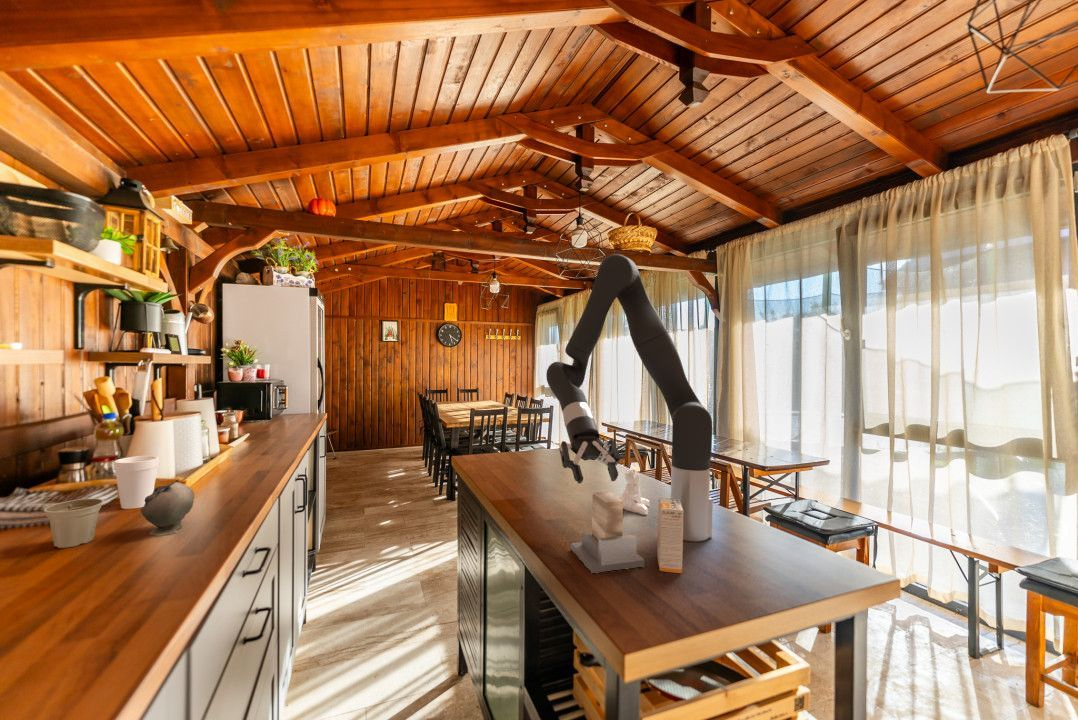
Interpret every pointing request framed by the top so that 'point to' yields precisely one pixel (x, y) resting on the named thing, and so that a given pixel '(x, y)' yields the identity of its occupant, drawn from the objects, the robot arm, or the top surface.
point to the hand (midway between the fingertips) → (598, 480)
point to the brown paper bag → (606, 515)
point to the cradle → (608, 552)
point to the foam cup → (135, 479)
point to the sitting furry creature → (634, 494)
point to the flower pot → (73, 521)
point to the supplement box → (670, 535)
